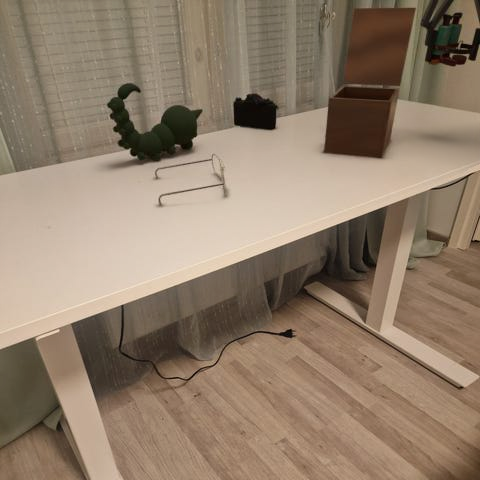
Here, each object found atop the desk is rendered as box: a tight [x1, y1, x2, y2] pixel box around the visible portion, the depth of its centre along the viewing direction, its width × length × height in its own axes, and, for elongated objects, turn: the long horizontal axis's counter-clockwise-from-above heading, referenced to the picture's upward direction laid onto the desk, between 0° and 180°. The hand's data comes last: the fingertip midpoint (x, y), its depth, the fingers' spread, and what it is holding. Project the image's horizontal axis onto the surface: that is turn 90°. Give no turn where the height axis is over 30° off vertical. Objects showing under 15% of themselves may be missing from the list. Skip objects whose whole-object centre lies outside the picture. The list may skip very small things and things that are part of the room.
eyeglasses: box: [154, 153, 228, 207], centre depth 92 cm, size 16×15×5 cm
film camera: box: [232, 92, 279, 131], centre depth 131 cm, size 15×10×9 cm, turn 59°
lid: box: [342, 7, 417, 87], centre depth 107 cm, size 16×15×1 cm
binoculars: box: [428, 11, 475, 67], centre depth 103 cm, size 9×11×10 cm
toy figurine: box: [106, 82, 203, 162], centre depth 107 cm, size 9×19×25 cm
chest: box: [323, 85, 400, 159], centre depth 109 cm, size 16×15×13 cm
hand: (449, 60), depth 106 cm, fingers closed on binoculars, 10 cm apart
